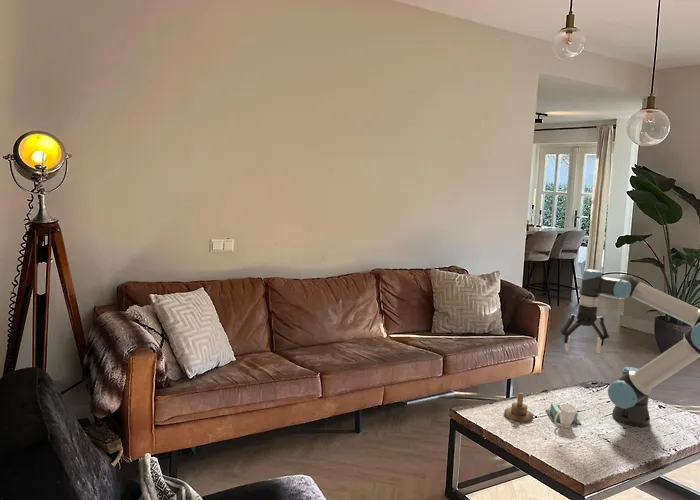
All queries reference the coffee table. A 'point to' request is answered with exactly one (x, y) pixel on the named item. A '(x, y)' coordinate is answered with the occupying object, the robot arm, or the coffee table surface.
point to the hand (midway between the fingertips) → (582, 351)
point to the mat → (559, 420)
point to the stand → (518, 411)
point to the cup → (566, 415)
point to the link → (556, 408)
